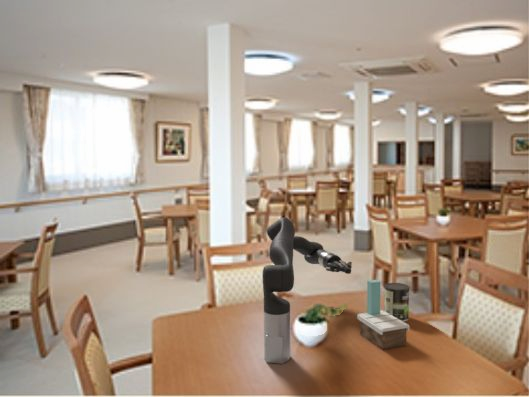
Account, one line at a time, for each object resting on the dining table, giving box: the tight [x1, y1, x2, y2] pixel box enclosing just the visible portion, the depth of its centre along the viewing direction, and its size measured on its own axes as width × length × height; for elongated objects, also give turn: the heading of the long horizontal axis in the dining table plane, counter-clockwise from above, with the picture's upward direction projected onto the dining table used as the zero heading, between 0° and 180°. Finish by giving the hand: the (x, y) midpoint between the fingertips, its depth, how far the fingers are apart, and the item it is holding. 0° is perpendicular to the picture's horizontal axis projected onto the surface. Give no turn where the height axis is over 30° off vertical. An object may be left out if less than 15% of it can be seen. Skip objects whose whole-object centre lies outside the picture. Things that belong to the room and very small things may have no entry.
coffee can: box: [383, 282, 410, 323], centre depth 198 cm, size 10×10×14 cm
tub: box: [359, 320, 408, 351], centre depth 176 cm, size 16×10×7 cm, turn 19°
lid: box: [356, 279, 410, 335], centre depth 175 cm, size 17×12×15 cm
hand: (349, 271), depth 191 cm, fingers closed
